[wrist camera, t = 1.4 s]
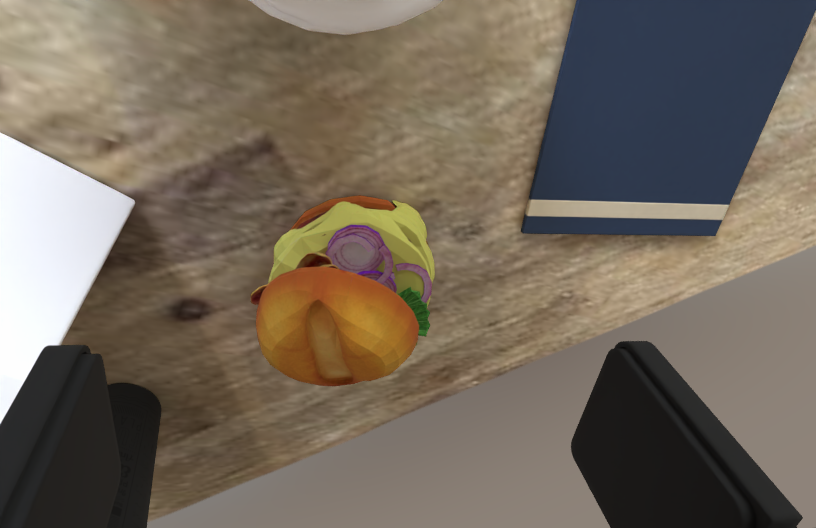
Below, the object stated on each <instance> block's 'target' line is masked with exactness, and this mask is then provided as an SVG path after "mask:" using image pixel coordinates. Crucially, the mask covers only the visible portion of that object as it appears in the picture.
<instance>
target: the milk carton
mask: <svg viewBox="0 0 816 528" xmlns="http://www.w3.org/2000/svg"><path fill="white" fill-rule="evenodd" d="M134 205H135V201H134V200H133V199H131V198H129V197H128V196H126V195H124V194H122V193H120V192H118V191H116V190H114V189H112V188H110V187H108V186H106V185H104V184H102V183H100V182H98V181H96V180H94V179H92V178H90V177H88V176H86V175H84V174H82V173H80V172H78V171H76V170H74V169H72V168H70V167H68V166H66V165H64V164H62V163H60V162H58V161H56V160H54V159H52V158H50V157H48V156H46V155H44V154H42V153H40V152H38V151H36V150H34V149H32V148H31V147H29V146H27V145H25V144H23V143H21V142H19V141H17V140H15V139H13V138H11V137H8V136H6V135H4V134H2V133H0V424H1V422H2V420H3V418H4V417H5V415H6V413H7V411H8V409H9V408H10V406H11V404H12V402H13V401H14V399H15V397H16V395H17V394H18V392H19V390H20V388H21V386H22V385H23V383H24V381H25V379H26V378H27V376H28V374H29V372H30V371H31V369H32V367H33V365H34V364H35V362H36V360H37V358H38V356H39V355H40V353H41V351H42V350H43V349H44V347H46V346H48V345H61V344H62V342H63V340H64V338H65V336H66V334H67V332H68V330H69V328H70V327H71V325H72V323H73V321H74V319H75V317H76V315H77V313H78V311H79V310H80V308H81V306H82V304H83V302H84V300H85V298H86V296H87V294H88V293H89V291H90V289H91V287H92V285H93V283H94V281H95V279H96V277H97V276H98V274H99V272H100V270H101V268H102V266H103V264H104V262H105V260H106V259H107V257H108V255H109V253H110V251H111V249H112V247H113V245H114V243H115V242H116V240H117V238H118V236H119V234H120V232H121V230H122V228H123V226H124V225H125V223H126V221H127V219H128V217H129V215H130V213H131V211H132V209H133V207H134Z"/></svg>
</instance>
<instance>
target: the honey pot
mask: <svg viewBox="0 0 816 528" xmlns="http://www.w3.org/2000/svg"><path fill="white" fill-rule="evenodd" d="M249 1H251V2H252V3H253V4H255V5H256V6H257V7H259V8H260V9H262V10H263V11H264V12H266V13H267V14H268V15H270V16H273V17H275V18H278V19H280V20H283V21H285V22H288V23H290V24H293V25H295V26H298V27H300V28H303V29H305V30H308V31H316V32H325V33H334V34H342V35H349V34H355V33H361V32H367V31H373V30H379V29H384V28H387V27H390V26H396V25H399V24H401V23H403V22H406V21H408V20H410V19H412V18H414V17H416V16H418V15H420V14H422V13H424V12H427V11H429V10H431V9H433V8H435V7H436V6H437V5H438V4H439V3H441V2H442V1H443V0H249Z"/></svg>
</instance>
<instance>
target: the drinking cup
mask: <svg viewBox="0 0 816 528" xmlns="http://www.w3.org/2000/svg"><path fill="white" fill-rule="evenodd" d="M107 387H108V392H109V398H110V404H111V410H112V415H113V421H114V427H115V433H116V438H117V444H118V450H119V456H120V461H121V477H120V483H119V487H118V491H117V494H116V497H115V501H114V504H113V507H112V511H111V514H110V518H109V521H108V524H107V528H146V527H147V519H148V512H149V504H150V496H151V488H152V480H153V472H154V464H155V457H156V449H157V441H158V433H159V425H160V417H161V405H160V402H159V400H158V399H157V398H156V396H155V395H154V394H153V393H151V392H150V391H149V390H147V389H145V388H143V387H140V386H137V385H133V384H126V383H117V384H110V385H107Z"/></svg>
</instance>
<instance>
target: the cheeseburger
mask: <svg viewBox="0 0 816 528" xmlns="http://www.w3.org/2000/svg"><path fill="white" fill-rule="evenodd" d="M392 202H393V204H392V203H391V202H389V201H388V200H383V199H377V198H372V197H366V196H361V195H359V196H352V197H344V198H337V199H330V200H328V201H326V202H324V203H322V204H320V205H318V206H316V207H314V208H311V209H309V210H307V211H305V212H304V214H303V215H302V216H301V217H300V218H299V220H298V221H297V222H296V223H295V224H294V226H293V227H292V228H291V229H290V231H289V232H287V233H286V234H284V235H283V236H281V238H280V239H279V241H278V242H277V243H276V245H275V246H274V265H273V268H272V271H271V274H270V277H269V280H268V284H267V285H264V286H261V287H259V288H258V289H256V290H255V291H254V292H253V293H252V294H251V303H252V304H255V305H258V304H259V305H258V309H257V318H256V329H257V336H258V341H259V344H260V347H261V350H262V353H263V355H264V357H265V358H266V359H267V361H268V362H269V364H270V365H272V366H273V367H274V368H276V369H277V370H279V371H280V372H282V373H283V374H285V375H287V376H288V377H290V378H293V379H295V380H298V381H301V382H306V383H310V384H316V385H321V386H340V385H348V384H355V383H358V382H361V381H371V380H375V379H378V378H381V377H384V376H387V375H390V374H391V373H392V372H393V371H395V370H396V369H397V368H398V367H399V366H400V365H401V364H402V363H403V362H404V361H405V360H406V359H407V358H408V357H409V356H410V355H411V354H412V352H413V350H414V348H415V346H416V345H417V340H418V335H420V336H426V334H427V331H428V329H429V327H430V323H429V321H428V316H429V314H430V312H429V311H428V310H427V307H428V304H429V301H430V297H431V288H432V287H431V285H432V282H433V280H434V276H435V272H434V260H433V257H432V253H431V250H430V249H429V247H428V243H427V241H426V237H427V232H426V226H425V224H424V222H423V220H422V218H421V217H420V215H419V213H418V211H416V210H415V209H413V208H412V207H410V206H409V205H408V204H406V203H400V202H398V201H392Z"/></svg>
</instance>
